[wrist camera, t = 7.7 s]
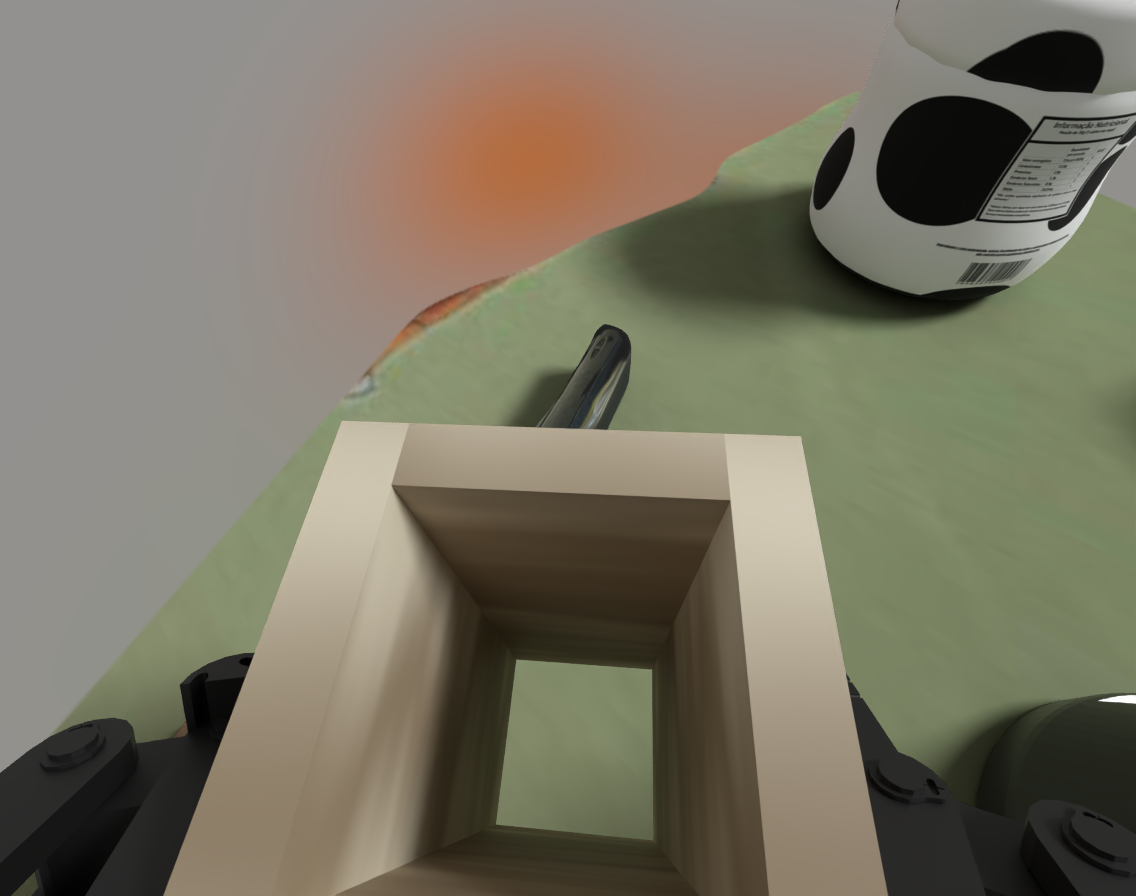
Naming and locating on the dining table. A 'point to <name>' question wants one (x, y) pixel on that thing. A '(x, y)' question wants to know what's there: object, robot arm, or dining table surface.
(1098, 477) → the dining table surface
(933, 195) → the doce de leite jar
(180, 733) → the flat brown rectangular board
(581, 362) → the mobile phone
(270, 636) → the wooden pencil cup
